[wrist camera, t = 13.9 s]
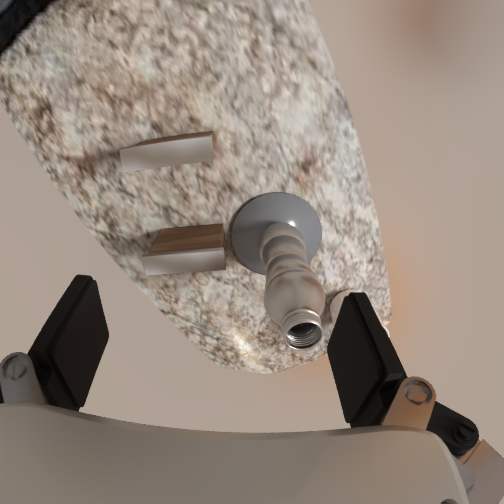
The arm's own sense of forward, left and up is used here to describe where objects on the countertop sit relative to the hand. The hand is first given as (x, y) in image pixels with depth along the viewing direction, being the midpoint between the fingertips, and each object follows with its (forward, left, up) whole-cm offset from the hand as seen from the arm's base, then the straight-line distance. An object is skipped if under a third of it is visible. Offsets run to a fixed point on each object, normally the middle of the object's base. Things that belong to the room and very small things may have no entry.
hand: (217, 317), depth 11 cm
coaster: (+12, +5, -32) cm, 34 cm away
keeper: (+4, -7, -32) cm, 33 cm away
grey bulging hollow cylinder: (+12, +5, -32) cm, 34 cm away
